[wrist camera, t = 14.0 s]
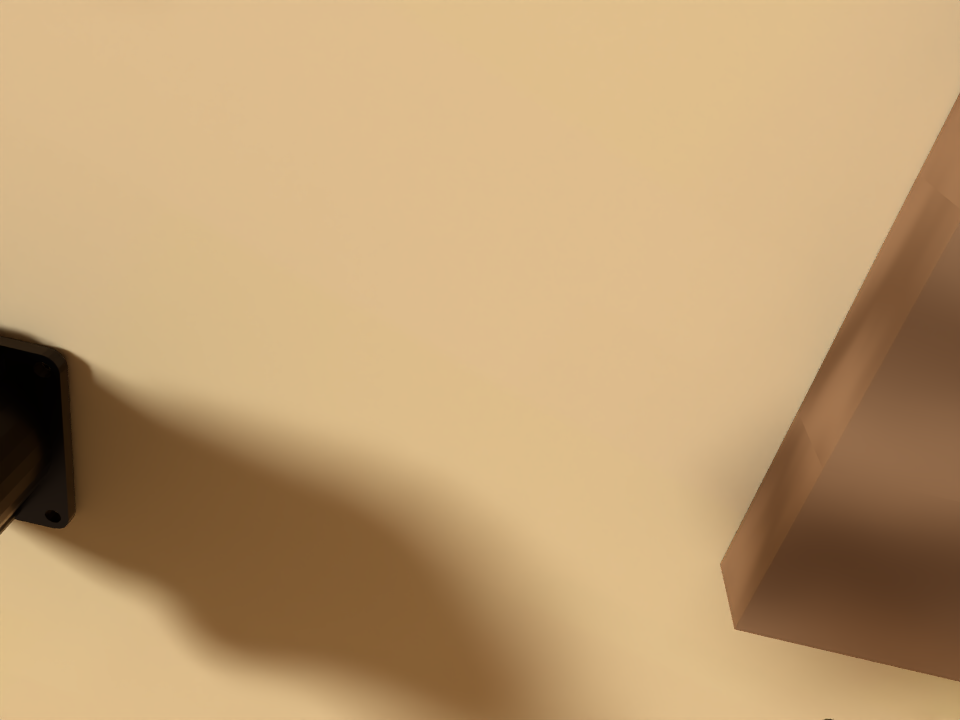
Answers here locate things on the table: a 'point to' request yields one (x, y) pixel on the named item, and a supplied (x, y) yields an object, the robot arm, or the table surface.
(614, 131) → the table surface
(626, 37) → the table surface
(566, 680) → the table surface
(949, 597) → the jig plate
